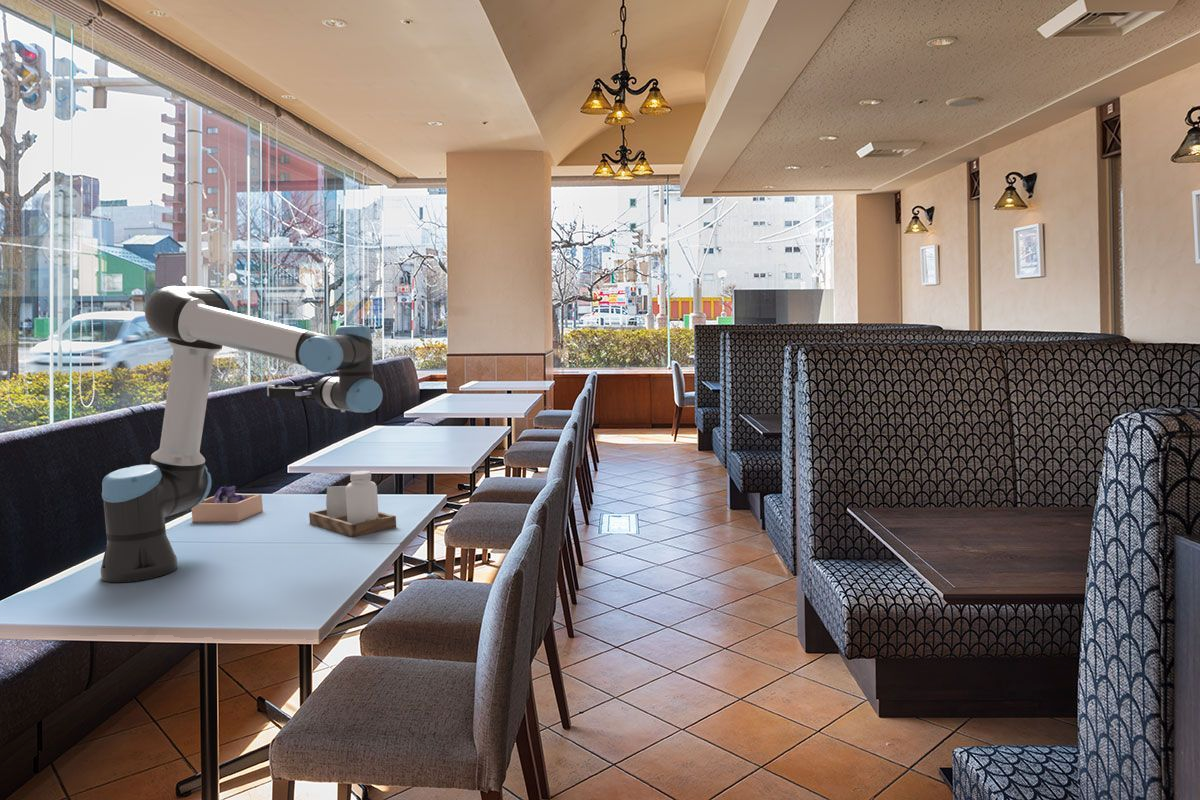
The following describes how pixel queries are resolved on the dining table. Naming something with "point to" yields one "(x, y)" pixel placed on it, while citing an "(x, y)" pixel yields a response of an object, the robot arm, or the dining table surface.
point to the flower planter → (227, 509)
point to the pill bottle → (361, 498)
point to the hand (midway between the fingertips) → (295, 388)
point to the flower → (228, 495)
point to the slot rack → (351, 529)
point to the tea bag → (336, 501)
